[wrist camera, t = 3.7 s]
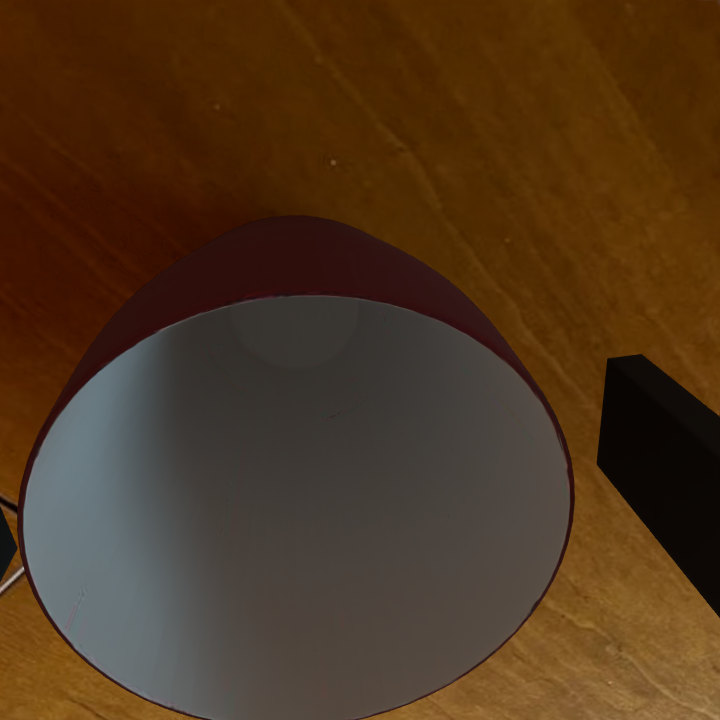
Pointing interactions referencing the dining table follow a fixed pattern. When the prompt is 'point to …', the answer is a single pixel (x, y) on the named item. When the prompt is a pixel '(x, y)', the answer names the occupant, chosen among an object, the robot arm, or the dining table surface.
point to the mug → (295, 483)
